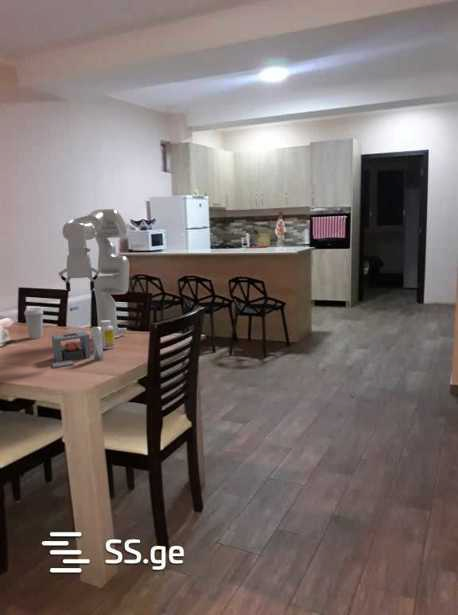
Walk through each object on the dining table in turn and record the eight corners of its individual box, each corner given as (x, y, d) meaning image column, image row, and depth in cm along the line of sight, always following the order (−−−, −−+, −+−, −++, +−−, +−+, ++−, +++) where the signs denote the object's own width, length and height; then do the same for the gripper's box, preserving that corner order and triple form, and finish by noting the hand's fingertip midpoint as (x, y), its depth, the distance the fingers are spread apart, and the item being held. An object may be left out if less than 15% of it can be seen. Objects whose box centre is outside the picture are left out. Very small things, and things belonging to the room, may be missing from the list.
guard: (85, 353, 227) (84, 331, 225) (90, 357, 219) (89, 334, 217) (53, 357, 220) (51, 335, 218) (57, 362, 212) (55, 339, 211)
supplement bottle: (117, 346, 237) (115, 319, 235) (109, 349, 231) (107, 322, 229) (105, 345, 240) (103, 319, 238) (97, 349, 233) (95, 322, 231)
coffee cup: (49, 336, 265) (47, 308, 262) (34, 340, 257) (31, 311, 254) (38, 334, 270) (35, 307, 267) (22, 338, 262) (19, 310, 259)
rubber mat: (70, 361, 213) (70, 359, 212) (74, 365, 207) (73, 363, 207) (51, 364, 209) (51, 363, 209) (54, 368, 204) (53, 366, 203)
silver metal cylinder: (102, 357, 218) (99, 326, 216) (104, 359, 214) (102, 327, 212) (92, 359, 216) (90, 327, 214) (95, 361, 213) (92, 328, 210)
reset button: (75, 347, 222) (75, 341, 222) (78, 350, 218) (77, 343, 218) (64, 349, 220) (64, 342, 219) (67, 351, 216) (66, 344, 215)
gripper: (99, 250, 222) (101, 289, 224) (58, 252, 220) (61, 291, 222) (97, 251, 215) (99, 290, 217) (55, 252, 212) (58, 292, 214)
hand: (80, 290), depth 219 cm, fingers open, 9 cm apart
